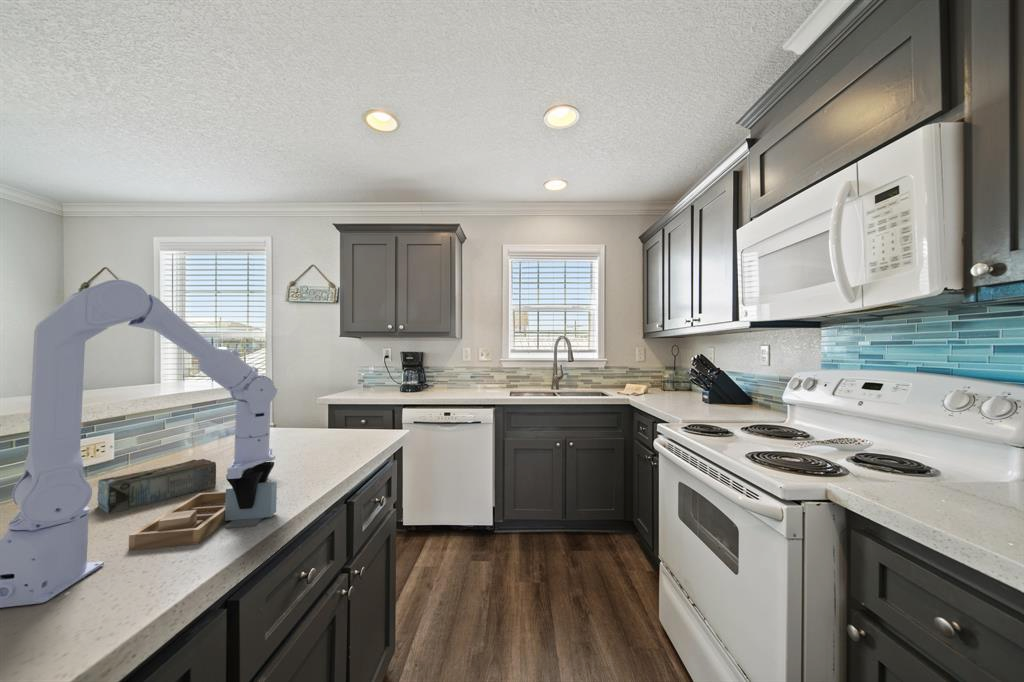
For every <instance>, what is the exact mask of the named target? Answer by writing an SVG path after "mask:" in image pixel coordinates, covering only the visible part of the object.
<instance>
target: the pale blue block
mask: <svg viewBox="0 0 1024 682" xmlns="http://www.w3.org/2000/svg"><path fill="white" fill-rule="evenodd" d="M277 485H278V481H272V482H271V481H270V482H268V481H267V482H266V483H258V485H257V489H256V495H255V501H254V505H253V507H252V508H250V509H239V506H238V502H237V499H236V495H235V492H234V490H233V488H232V486H231V485H229V486H228V487H226V488H225V492H226V500H225V504H224V505H225V521H226V520H227V521H232V520H239V519H251V518H263V519H265V518H272V517H273V516H274V514H275V513H276V512H277V498H278V497H277V493H278V487H277ZM227 521H226V522H227Z"/></svg>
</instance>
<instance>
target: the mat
mask: <svg viewBox="0 0 1024 682" xmlns="http://www.w3.org/2000/svg"><path fill="white" fill-rule="evenodd" d="M263 519H264V518H251V519H239V520H230V522H229V523H227V524H226V525H225V526H224V527H225V529H236V528H245V527H256V526H257V525H258V524H259V523H260V522H261V521H262V520H263Z"/></svg>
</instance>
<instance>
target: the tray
mask: <svg viewBox="0 0 1024 682" xmlns="http://www.w3.org/2000/svg"><path fill="white" fill-rule="evenodd" d="M225 500H226V491H214V492H201V493H200V492H199V493H198V494H195V495H194V496H193V497H190V498H189V499H187V500H186V501H184V502H182V503H181V504H179V505H178V506H176V507H174V508H172V509H171V510H169V511H167V512H165V513H164V514H162V515H161V516H159V517H157V518H156V519H153V520H152V521H150V522H148V523H147V524H146V525H143V526H142V527H141V528H139V529H137V530H135V531H134V532H133V533H130V534H129V535H128V551H133V550H143V549H144V550H146V549H154V548H166V547H177V546H186V545H187V546H188V545H198V544H200V543H201V542H202V541H203V540H205V539H206V538H207V537H208V536H210V535H211V534H213V532H215V531H216V530H217V529H218V528H220V527H221V526H223V524H224V523H226V522H227V521H228V520H226V521H225ZM190 510H197V521H199V520H203V523H202V524H201V525H199V526H198V527H197V528H188V529H176V530H164V531H159V521H160V520H161V519H162V518H163V517H164V516H166V515H167V514H168V513H174V512H182V511H190Z"/></svg>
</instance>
